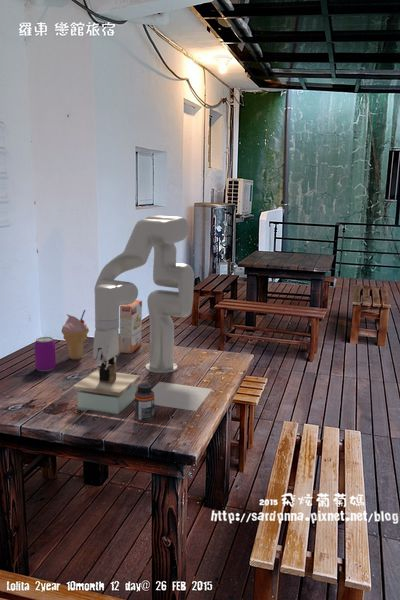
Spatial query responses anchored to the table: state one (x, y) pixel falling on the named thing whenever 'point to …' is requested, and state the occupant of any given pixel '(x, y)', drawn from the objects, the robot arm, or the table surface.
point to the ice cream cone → (75, 335)
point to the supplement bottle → (144, 403)
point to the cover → (107, 382)
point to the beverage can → (45, 354)
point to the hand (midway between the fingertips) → (107, 377)
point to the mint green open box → (105, 401)
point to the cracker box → (130, 326)
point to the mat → (179, 396)
